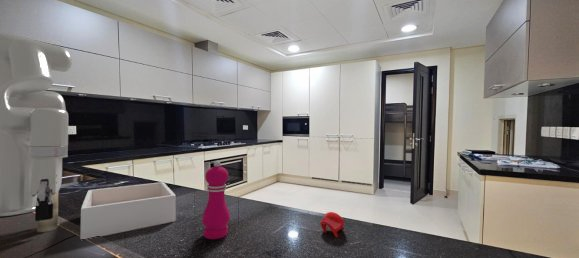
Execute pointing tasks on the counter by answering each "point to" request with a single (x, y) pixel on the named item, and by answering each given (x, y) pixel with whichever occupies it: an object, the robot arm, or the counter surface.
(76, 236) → the counter surface
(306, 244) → the counter surface
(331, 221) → the red toy chair
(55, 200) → the peg
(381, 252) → the counter surface
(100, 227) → the box
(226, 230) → the pepper mill
